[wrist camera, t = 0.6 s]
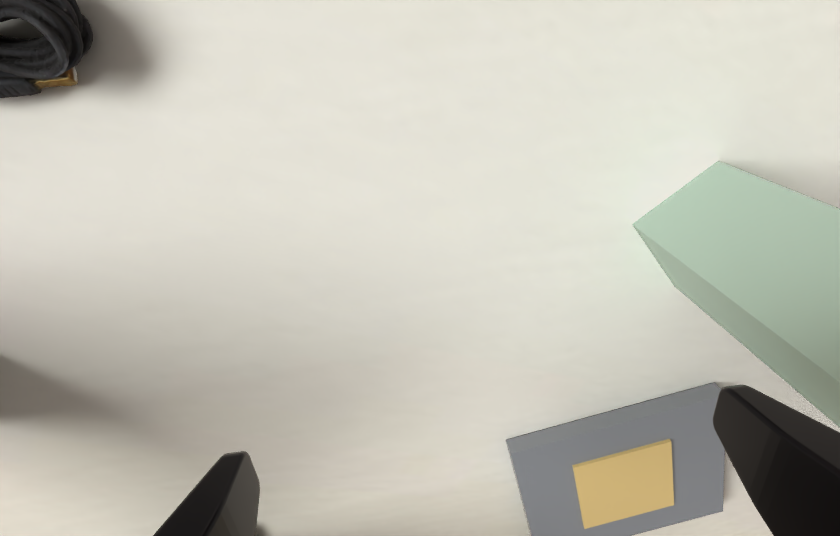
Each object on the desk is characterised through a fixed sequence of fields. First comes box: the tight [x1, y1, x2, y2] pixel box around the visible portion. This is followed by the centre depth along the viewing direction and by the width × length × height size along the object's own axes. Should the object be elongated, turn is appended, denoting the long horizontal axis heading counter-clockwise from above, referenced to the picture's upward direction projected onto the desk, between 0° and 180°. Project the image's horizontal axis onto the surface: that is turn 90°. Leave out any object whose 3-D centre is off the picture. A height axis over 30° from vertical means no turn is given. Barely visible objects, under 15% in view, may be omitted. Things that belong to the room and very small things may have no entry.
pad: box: [506, 382, 725, 536], centre depth 29 cm, size 12×10×1 cm
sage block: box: [632, 161, 840, 427], centre depth 18 cm, size 4×4×12 cm
